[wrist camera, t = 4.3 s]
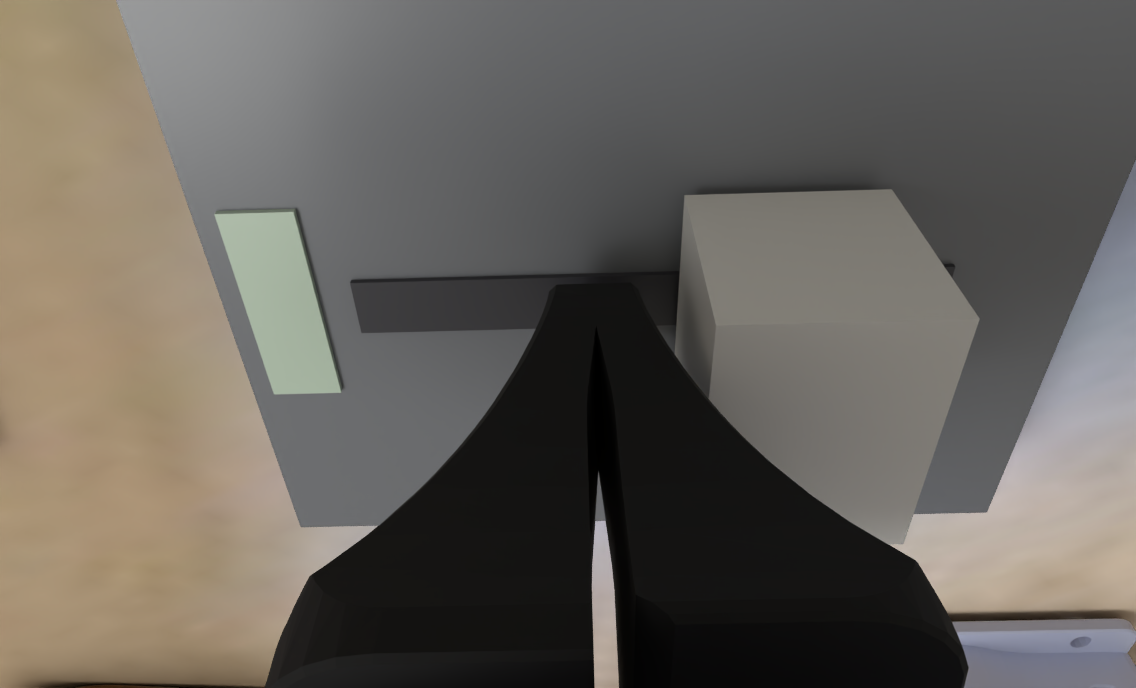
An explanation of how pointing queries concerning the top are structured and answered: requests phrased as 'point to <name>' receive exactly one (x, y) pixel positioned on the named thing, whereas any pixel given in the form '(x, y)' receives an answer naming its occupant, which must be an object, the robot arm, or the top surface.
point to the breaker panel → (609, 188)
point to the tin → (121, 686)
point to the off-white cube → (825, 340)
